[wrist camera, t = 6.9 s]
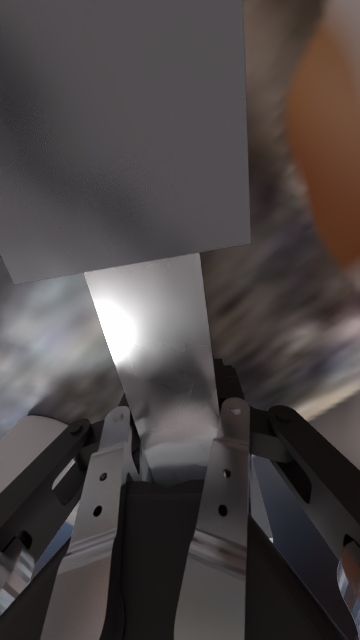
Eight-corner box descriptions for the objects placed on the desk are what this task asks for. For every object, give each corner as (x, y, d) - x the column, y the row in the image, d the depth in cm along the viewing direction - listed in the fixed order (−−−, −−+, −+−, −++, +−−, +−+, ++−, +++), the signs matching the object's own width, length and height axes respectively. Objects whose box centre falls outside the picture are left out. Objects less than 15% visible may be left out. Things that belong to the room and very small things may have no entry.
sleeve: (53, 58, 9) (-337, -454, 2) (197, 11, 8) (208, -983, 1) (111, 262, 12) (14, 284, 5) (218, 243, 11) (251, 243, 5)
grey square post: (118, 216, 10) (57, 195, 6) (191, 201, 10) (188, 165, 5) (171, 429, 16) (162, 504, 12) (219, 426, 16) (230, 503, 11)
